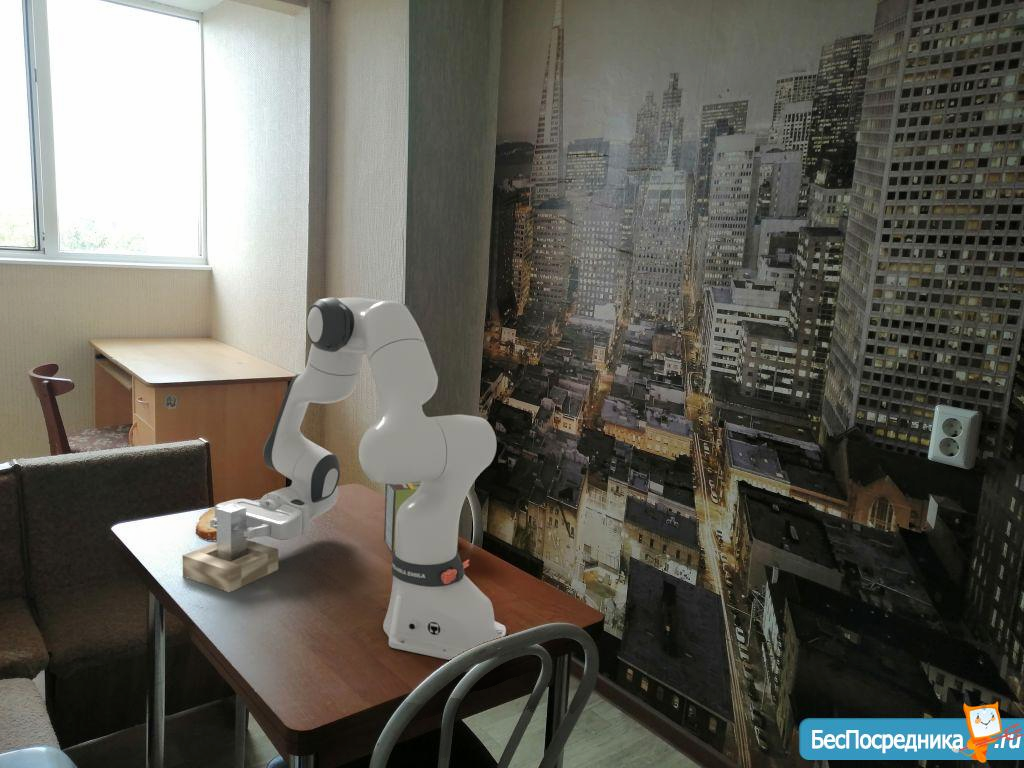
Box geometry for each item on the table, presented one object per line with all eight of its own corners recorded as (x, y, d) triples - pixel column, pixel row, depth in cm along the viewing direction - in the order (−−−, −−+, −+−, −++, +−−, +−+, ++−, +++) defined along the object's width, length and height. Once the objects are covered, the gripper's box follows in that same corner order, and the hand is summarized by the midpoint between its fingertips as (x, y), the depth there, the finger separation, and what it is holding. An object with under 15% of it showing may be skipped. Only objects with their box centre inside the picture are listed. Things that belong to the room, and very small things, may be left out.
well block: (278, 569, 157) (278, 549, 156) (229, 592, 145) (229, 570, 145) (233, 555, 162) (233, 535, 162) (182, 576, 151) (182, 555, 150)
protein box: (458, 550, 173) (461, 485, 170) (392, 556, 167) (395, 489, 164) (445, 534, 182) (448, 472, 180) (382, 539, 177) (384, 476, 174)
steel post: (246, 572, 155) (246, 507, 152) (231, 578, 151) (230, 512, 149) (232, 567, 157) (232, 503, 154) (217, 574, 153) (216, 508, 151)
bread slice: (206, 545, 168) (206, 529, 168) (177, 521, 181) (177, 506, 180) (281, 528, 180) (281, 513, 180) (249, 507, 193) (249, 493, 193)
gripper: (243, 487, 168) (192, 504, 156) (314, 506, 159) (266, 525, 147) (243, 514, 169) (193, 533, 157) (314, 534, 160) (266, 555, 148)
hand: (229, 529), depth 152 cm, fingers open, 8 cm apart
